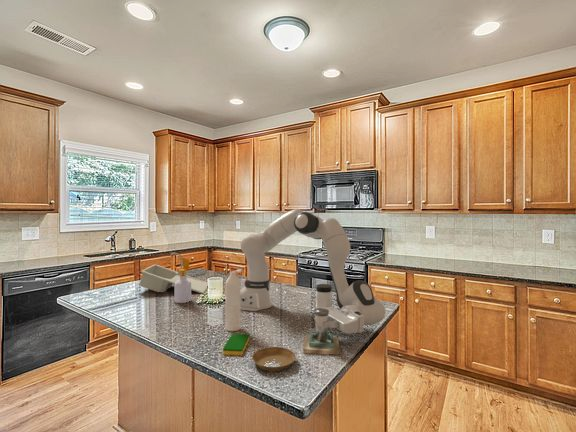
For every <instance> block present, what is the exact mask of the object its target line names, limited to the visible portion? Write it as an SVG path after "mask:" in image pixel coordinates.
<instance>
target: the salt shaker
mask: <svg viewBox="0 0 576 432" xmlns="http://www.w3.org/2000/svg"><path fill="white" fill-rule="evenodd" d="M328 314H329V310H328V309H325V308H315V309H314V315H315V316H314V317H315V320H314V322H315V323H314V326H315V327H314V331H315V332H314V333H315V340H317V341H320V342H325V341H327V340H328V334H329V330H328V329H329V327H327V328H325V327H324V326H323V322H325V321H328Z"/></svg>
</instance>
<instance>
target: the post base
mask: <svg viewBox="0 0 576 432" xmlns="http://www.w3.org/2000/svg"><path fill="white" fill-rule="evenodd" d="M302 351H303V353H302V354H311V353H313V354H315V353H317V354H315V355H329V354H340V352H341V351H340V343H339V336H338V335H334V334H333V333H328V340H327V341H325V342H320V341H317V340H315V332H314V333H313V332H312V333H311V332H310V333H309V334H305V335H304V342H303V350H302Z"/></svg>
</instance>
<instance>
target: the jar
mask: <svg viewBox="0 0 576 432" xmlns="http://www.w3.org/2000/svg"><path fill="white" fill-rule="evenodd" d="M332 287H333V286H332V285H331V284H327V283H319V284H316V286H315V309H317V308H324V307H333V291H332Z"/></svg>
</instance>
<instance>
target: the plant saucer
mask: <svg viewBox="0 0 576 432" xmlns="http://www.w3.org/2000/svg"><path fill="white" fill-rule="evenodd" d="M251 356H252V357H251V359H252V361H253V363H254V364H255V365H256V366H257V367H258V368H259V369H261V370H263V371H266V370H267V371H266V372H280V370H281V371H283V369H284V370H286V369H288V368H289V367H290V366H291V365H292V364H293V363H294V361H296V357H297V356H296V354H295V352H293V351H292V349H288V348H285V347H282V346H281V347H279V346H270V347H264V348H261V349H259V350H256V351H255V352H253V354H252V355H251ZM273 359H275V360H273ZM266 361H269V362H266ZM272 361H277V362H275V363H278V362H281V364H279V365H280V366H279V367H266V366H264V365H265V364H266V363H270V362H272ZM265 362H266V363H265Z"/></svg>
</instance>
